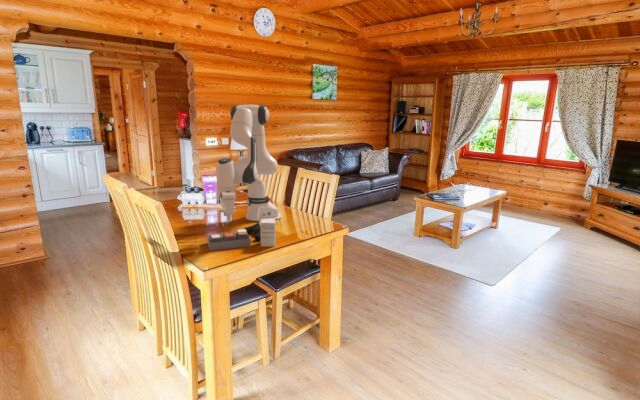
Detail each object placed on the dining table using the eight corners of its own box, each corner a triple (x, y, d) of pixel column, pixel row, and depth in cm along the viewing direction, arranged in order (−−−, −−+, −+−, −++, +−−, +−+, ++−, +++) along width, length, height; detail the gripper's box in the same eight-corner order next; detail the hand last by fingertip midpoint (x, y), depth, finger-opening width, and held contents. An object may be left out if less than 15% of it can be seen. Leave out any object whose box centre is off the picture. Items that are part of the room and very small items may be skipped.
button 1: (219, 237, 185) (219, 234, 185) (220, 239, 182) (220, 236, 181) (211, 238, 184) (210, 235, 183) (212, 240, 180) (212, 237, 180)
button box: (245, 238, 198) (245, 228, 196) (250, 246, 187) (250, 235, 186) (206, 242, 190) (206, 232, 189) (209, 250, 179) (209, 239, 178)
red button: (232, 236, 188) (232, 233, 187) (233, 238, 184) (233, 235, 184) (224, 236, 186) (224, 234, 186) (225, 239, 183) (225, 236, 182)
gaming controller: (260, 245, 195) (274, 233, 199) (255, 238, 192) (269, 225, 196) (244, 237, 207) (257, 225, 211) (239, 230, 204) (253, 218, 208)
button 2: (245, 231, 190) (245, 229, 190) (246, 234, 186) (246, 231, 186) (237, 232, 188) (237, 229, 188) (238, 235, 185) (238, 232, 184)
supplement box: (261, 241, 194) (261, 218, 191) (275, 241, 194) (275, 218, 191) (260, 246, 186) (260, 222, 184) (275, 246, 187) (275, 222, 184)
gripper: (216, 187, 193) (217, 213, 196) (222, 196, 174) (223, 224, 178) (229, 187, 195) (229, 212, 198) (236, 195, 177) (237, 223, 180)
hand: (227, 218), depth 188 cm, fingers open, 8 cm apart
